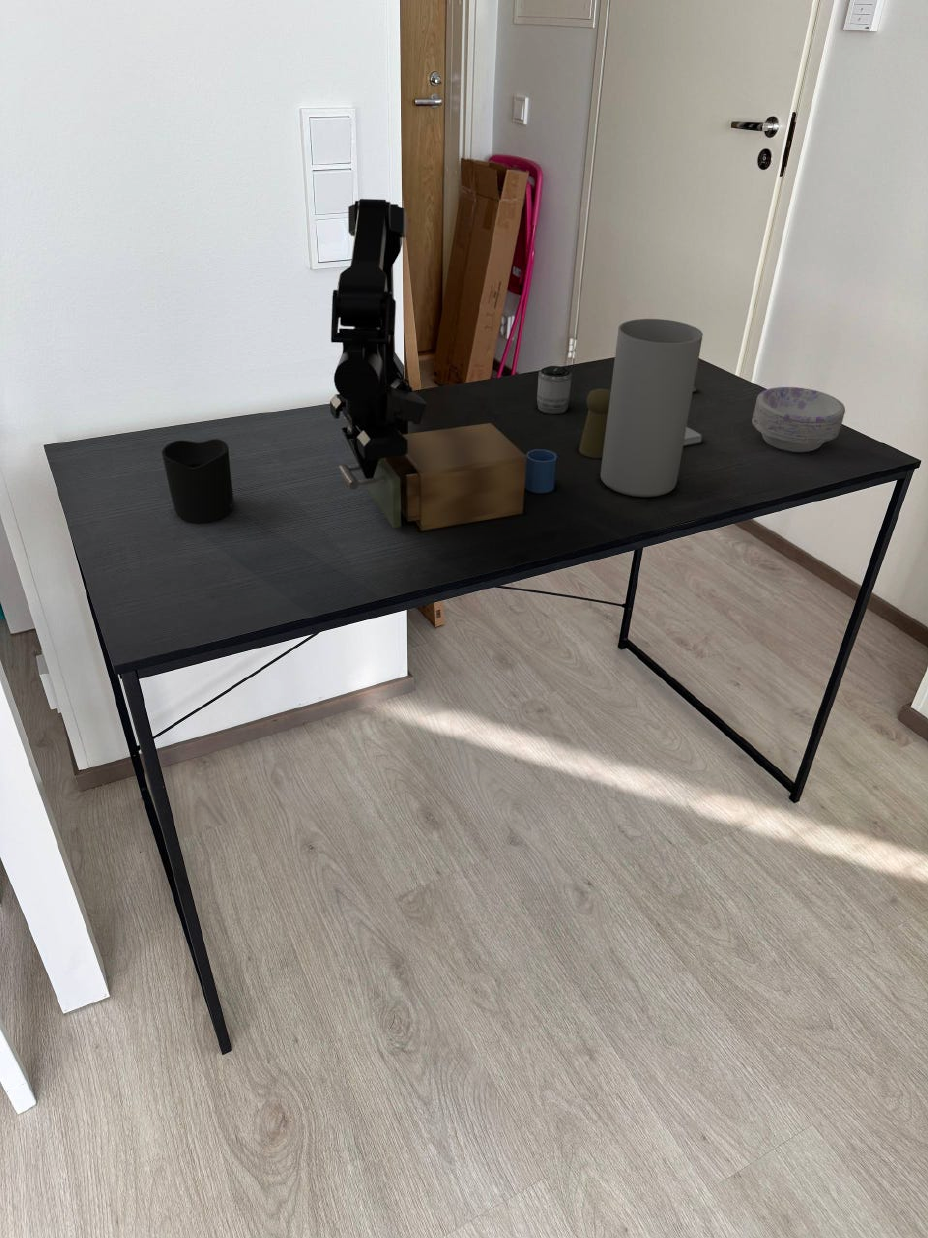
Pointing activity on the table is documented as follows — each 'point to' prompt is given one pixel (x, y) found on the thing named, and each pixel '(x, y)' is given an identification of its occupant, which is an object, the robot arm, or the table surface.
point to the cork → (595, 423)
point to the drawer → (391, 488)
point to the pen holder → (199, 479)
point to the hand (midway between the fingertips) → (369, 478)
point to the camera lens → (553, 389)
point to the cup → (540, 471)
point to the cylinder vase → (649, 405)
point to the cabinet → (466, 475)
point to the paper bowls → (797, 418)
